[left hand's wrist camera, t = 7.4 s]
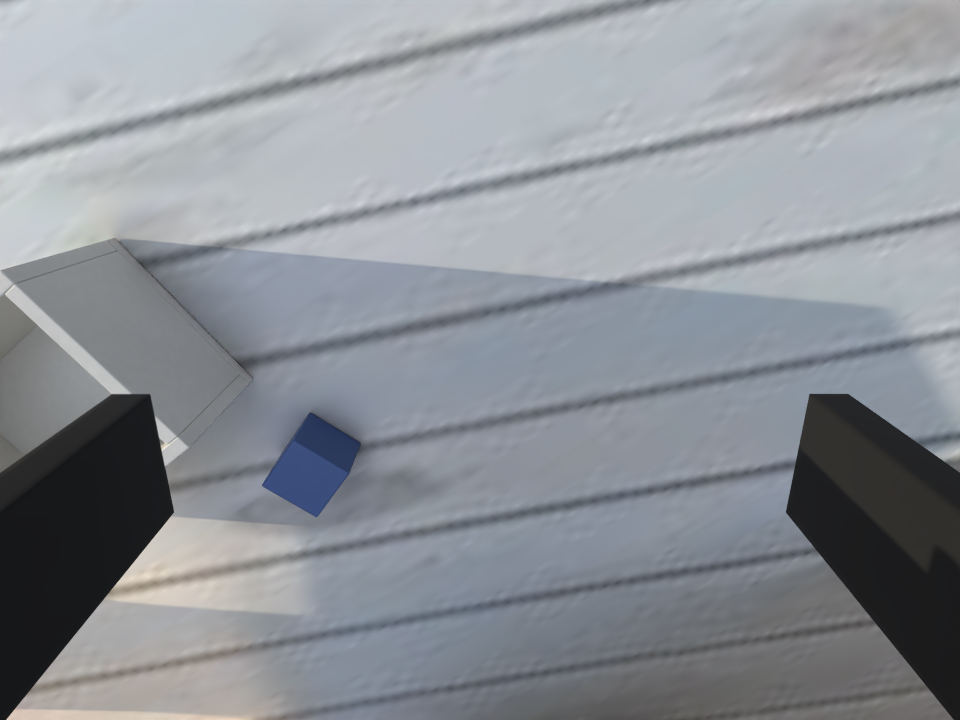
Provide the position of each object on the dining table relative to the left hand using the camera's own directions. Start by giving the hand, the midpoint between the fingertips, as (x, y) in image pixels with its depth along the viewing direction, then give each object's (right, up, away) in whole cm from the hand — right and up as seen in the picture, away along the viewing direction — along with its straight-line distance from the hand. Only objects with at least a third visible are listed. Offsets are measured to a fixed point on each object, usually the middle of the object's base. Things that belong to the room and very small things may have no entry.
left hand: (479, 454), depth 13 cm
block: (-11, -4, +31) cm, 34 cm away
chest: (-26, 0, +30) cm, 40 cm away
